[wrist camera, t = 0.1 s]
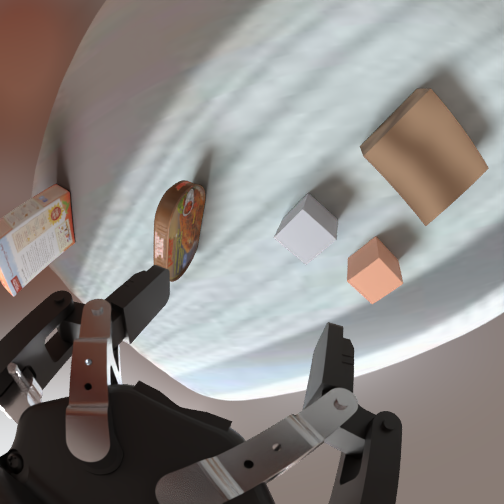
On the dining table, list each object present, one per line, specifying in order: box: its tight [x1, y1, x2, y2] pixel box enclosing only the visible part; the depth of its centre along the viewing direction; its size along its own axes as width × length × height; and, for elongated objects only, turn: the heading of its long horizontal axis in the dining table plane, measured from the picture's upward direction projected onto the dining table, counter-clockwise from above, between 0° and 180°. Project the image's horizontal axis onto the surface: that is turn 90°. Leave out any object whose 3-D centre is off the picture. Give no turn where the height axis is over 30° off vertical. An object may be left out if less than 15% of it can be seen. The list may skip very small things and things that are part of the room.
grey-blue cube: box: [274, 193, 338, 265], centre depth 32 cm, size 5×5×5 cm
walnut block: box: [360, 88, 488, 226], centre depth 22 cm, size 10×10×5 cm
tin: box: [154, 180, 205, 282], centre depth 36 cm, size 15×3×8 cm, turn 165°
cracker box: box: [0, 184, 75, 296], centre depth 41 cm, size 14×6×21 cm, turn 161°
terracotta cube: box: [347, 236, 403, 304], centre depth 32 cm, size 5×5×5 cm
